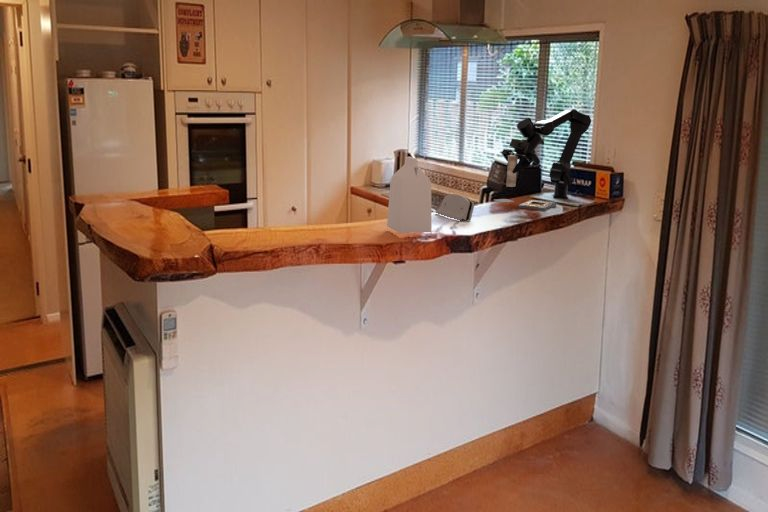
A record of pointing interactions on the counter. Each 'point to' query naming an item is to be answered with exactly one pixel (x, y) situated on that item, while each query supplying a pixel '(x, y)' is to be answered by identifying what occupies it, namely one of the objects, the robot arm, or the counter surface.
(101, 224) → the counter surface
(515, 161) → the peg
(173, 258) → the counter surface
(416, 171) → the milk
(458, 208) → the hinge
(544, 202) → the rack plate
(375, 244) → the counter surface
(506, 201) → the pad
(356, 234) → the counter surface
